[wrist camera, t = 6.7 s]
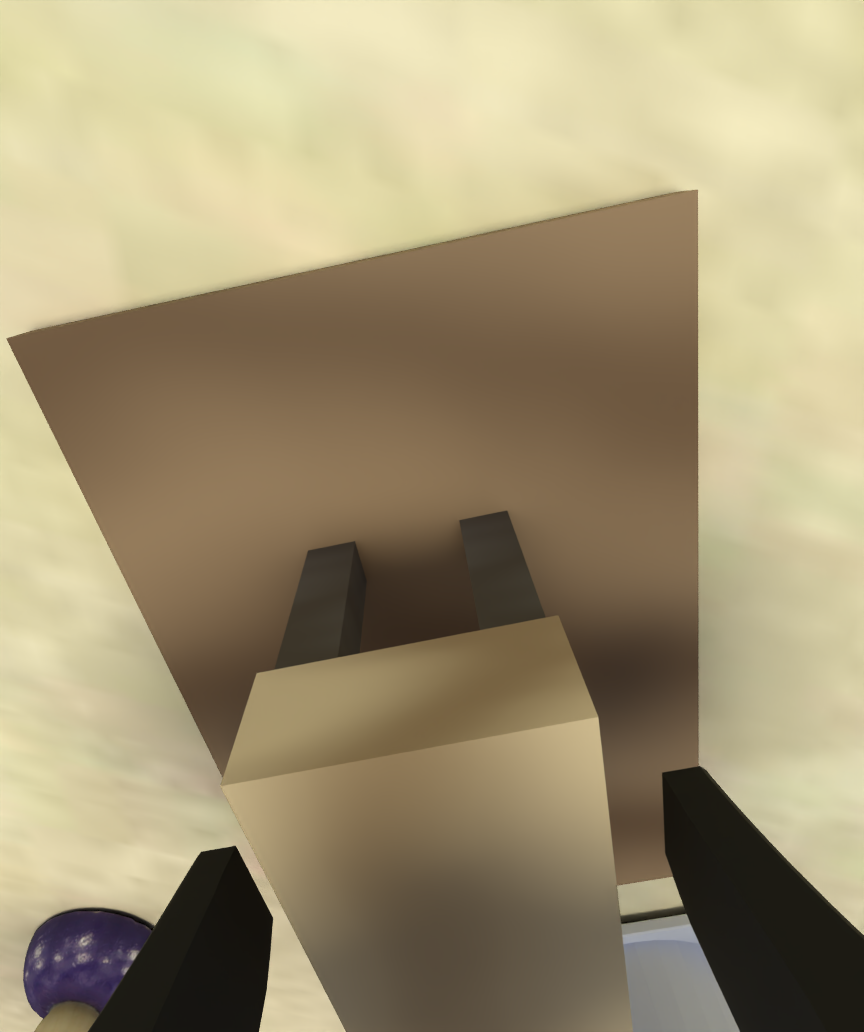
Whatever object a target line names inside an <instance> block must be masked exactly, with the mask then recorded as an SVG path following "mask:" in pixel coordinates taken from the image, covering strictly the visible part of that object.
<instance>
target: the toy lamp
mask: <svg viewBox="0 0 864 1032" xmlns="http://www.w3.org/2000/svg"><path fill="white" fill-rule="evenodd" d="M151 932H152V930H151V929H149V928H148V927H147V926H145V925H144V924H140V923H138V922H135V921H134V920H133V919H131V918H128V917H125V916H121V915H118V914H113V913H108V912H103V911H75V912H71V913H66V914H63V915H60V916H57V917H54V918H52V919H50V920H48V921H47V922H46V923H44V924H43V925H42V926H41V927H40V928H39V929H37V930H36V932H35V933H34V936H33V938H32V940H31V942H30V944H29V947H28V951H27V954H26V958H25V964H24V978H23V981H24V988H25V992H26V996H27V999H28V1002H29V1003H30V1005H31V1008H32V1009H33V1010H34V1011H35V1012H37V1014H38V1015H39V1016H40V1017H42V1018H43V1020H42V1021H41V1022H40V1024H39V1025H38V1027H37V1028H36V1030H35V1032H88V1030H89V1029H90V1027H91V1026H92V1024H93V1023H94V1021H95V1020H96V1018H97V1017H98V1015H99V1014H100V1012H101V1011H102V1009H103V1008H104V1006H105V1005H106V1003H107V1002H108V1000H109V998H110V997H111V995H112V994H113V992H114V991H115V989H116V987H117V986H118V984H119V983H120V981H121V980H122V978H123V977H124V975H125V973H126V972H127V970H128V969H129V967H130V966H131V964H132V962H133V961H134V959H135V958H136V956H137V955H138V953H139V951H140V950H141V948H142V947H143V945H144V943H145V942H146V940H147V938H148V937H149V935H150V934H151Z"/></svg>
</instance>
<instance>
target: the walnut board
mask: <svg viewBox="0 0 864 1032" xmlns="http://www.w3.org/2000/svg"><path fill="white" fill-rule="evenodd" d="M6 339H7V341H8V343H9V345H10V347H11V349H12V351H13V353H14V355H15V357H16V359H17V361H18V363H19V365H20V367H21V369H22V371H23V373H24V375H25V377H26V379H27V381H28V383H29V385H30V387H31V389H32V392H33V394H34V396H35V398H36V400H37V402H38V404H39V406H40V408H41V410H42V412H43V414H44V416H45V418H46V420H47V422H48V424H49V426H50V428H51V430H52V432H53V434H54V436H55V438H56V440H57V442H58V444H59V446H60V448H61V450H62V452H63V454H64V456H65V458H66V461H67V463H68V465H69V467H70V469H71V471H72V473H73V475H74V477H75V479H76V481H77V483H78V485H79V487H80V489H81V491H82V493H83V495H84V497H85V499H86V501H87V503H88V505H89V507H90V509H91V511H92V513H93V515H94V517H95V519H96V521H97V523H98V525H99V527H100V530H101V532H102V534H103V536H104V538H105V540H106V542H107V544H108V546H109V548H110V550H111V552H112V554H113V556H114V558H115V560H116V562H117V564H118V566H119V568H120V570H121V572H122V574H123V576H124V578H125V580H126V582H127V584H128V586H129V588H130V590H131V592H132V594H133V596H134V599H135V601H136V603H137V605H138V607H139V609H140V611H141V613H142V615H143V617H144V619H145V621H146V623H147V625H148V627H149V629H150V631H151V633H152V635H153V637H154V639H155V641H156V643H157V645H158V647H159V649H160V651H161V653H162V655H163V657H164V659H165V661H166V663H167V665H168V667H169V670H170V672H171V674H172V676H173V678H174V680H175V682H176V684H177V686H178V688H179V690H180V692H181V694H182V696H183V698H184V700H185V702H186V704H187V706H188V708H189V710H190V712H191V714H192V716H193V718H194V720H195V722H196V724H197V726H198V728H199V730H200V732H201V734H202V736H203V739H204V741H205V743H206V745H207V747H208V749H209V751H210V753H211V755H212V757H213V759H214V761H215V763H216V765H217V767H218V769H219V771H220V773H221V775H222V777H223V776H224V773H225V770H226V767H227V764H228V761H229V758H230V755H231V751H232V748H233V745H234V742H235V739H236V736H237V733H238V730H239V727H240V723H241V720H242V717H243V714H244V711H245V708H246V705H247V702H248V699H249V695H250V692H251V689H252V686H253V683H254V680H255V677H256V674H257V673H260V672H266V671H271V670H274V668H275V665H276V661H277V658H278V654H279V651H280V647H281V644H282V640H283V637H284V633H285V630H286V626H287V623H288V619H289V616H290V612H291V609H292V605H293V602H294V598H295V595H296V591H297V588H298V584H299V581H300V577H301V574H302V570H303V566H304V563H305V559H306V556H307V552H308V550H313V549H318V548H323V547H328V546H333V545H338V544H343V543H348V542H353V541H355V543H356V547H357V550H358V553H359V557H360V560H361V563H362V567H363V570H364V574H365V577H366V580H367V584H366V594H365V604H364V615H363V625H362V635H361V645H360V653H364V652H369V651H375V650H380V649H385V648H390V647H395V646H401V645H406V644H411V643H416V642H421V641H427V640H432V639H437V638H442V637H447V636H453V635H458V634H463V633H468V632H473V631H479V630H480V628H479V622H478V617H477V612H476V606H475V601H474V596H473V591H472V585H471V580H470V575H469V569H468V564H467V559H466V553H465V548H464V543H463V537H462V532H461V527H460V522H459V520H462V519H467V518H472V517H477V516H482V515H487V514H492V513H497V512H502V511H508V514H509V517H510V519H511V522H512V525H513V528H514V531H515V533H516V536H517V539H518V542H519V544H520V547H521V550H522V553H523V556H524V558H525V561H526V564H527V567H528V569H529V572H530V575H531V578H532V581H533V583H534V586H535V589H536V592H537V595H538V597H539V600H540V603H541V606H542V608H543V611H544V614H545V617H551V616H557V615H558V616H559V618H560V621H561V623H562V626H563V628H564V631H565V633H566V636H567V639H568V641H569V644H570V646H571V649H572V651H573V654H574V656H575V659H576V661H577V664H578V667H579V669H580V672H581V674H582V677H583V679H584V682H585V684H586V687H587V689H588V692H589V695H590V697H591V700H592V702H593V705H594V707H595V710H596V712H597V715H598V718H599V728H600V737H601V746H602V755H603V764H604V773H605V782H606V791H607V800H608V809H609V819H610V828H611V837H612V846H613V855H614V864H615V873H616V882H617V885H623V884H630V883H636V882H642V881H648V880H654V879H660V878H666V877H672V876H673V874H672V871H671V869H670V866H669V863H668V860H667V857H666V854H665V839H664V813H663V787H662V772H668V771H674V770H680V769H686V768H691V767H697V766H698V190H691V191H681V192H675V193H670V194H665V195H661V196H656V197H651V198H647V199H642V200H638V201H633V202H628V203H624V204H619V205H614V206H610V207H605V208H600V209H596V210H591V211H586V212H582V213H577V214H572V215H568V216H563V217H559V218H554V219H549V220H545V221H540V222H535V223H531V224H526V225H521V226H517V227H512V228H507V229H503V230H498V231H493V232H489V233H484V234H480V235H475V236H470V237H466V238H461V239H456V240H452V241H447V242H442V243H438V244H433V245H428V246H424V247H419V248H414V249H410V250H405V251H401V252H396V253H391V254H387V255H382V256H377V257H373V258H368V259H363V260H359V261H354V262H349V263H345V264H340V265H335V266H331V267H326V268H322V269H317V270H312V271H308V272H303V273H298V274H294V275H289V276H284V277H280V278H275V279H270V280H266V281H261V282H256V283H252V284H247V285H243V286H238V287H233V288H229V289H224V290H219V291H215V292H210V293H205V294H201V295H196V296H191V297H187V298H182V299H178V300H173V301H168V302H164V303H159V304H154V305H150V306H145V307H140V308H136V309H131V310H126V311H122V312H117V313H112V314H108V315H103V316H99V317H94V318H89V319H85V320H80V321H75V322H71V323H66V324H61V325H57V326H52V327H47V328H43V329H38V330H33V331H30V332H26V333H23V334H20V335H16V336H13V337H10V338H6Z"/></svg>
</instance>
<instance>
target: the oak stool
mask: <svg viewBox="0 0 864 1032" xmlns="http://www.w3.org/2000/svg"><path fill="white" fill-rule="evenodd" d="M459 522H460V527H461V532H462V537H463V543H464V548H465V553H466V559H467V564H468V569H469V575H470V580H471V585H472V591H473V596H474V601H475V606H476V612H477V617H478V622H479V628H480V630H479V631H473V632H468V633H463V634H458V635H453V636H447V637H442V638H437V639H432V640H427V641H421V642H416V643H411V644H406V645H401V646H395V647H390V648H385V649H380V650H375V651H369V652H364V653H360V645H361V635H362V625H363V615H364V604H365V594H366V584H367V580H366V577H365V574H364V570H363V567H362V563H361V560H360V557H359V553H358V550H357V547H356V543H355V541H353V542H348V543H343V544H338V545H333V546H328V547H323V548H318V549H313V550H308V552H307V556H306V559H305V563H304V566H303V570H302V574H301V577H300V581H299V584H298V588H297V591H296V595H295V598H294V602H293V605H292V609H291V612H290V616H289V619H288V623H287V626H286V630H285V633H284V637H283V640H282V644H281V647H280V651H279V654H278V658H277V661H276V665H275V668H274V670H271V671H266V672H260V673H257V674H256V677H255V680H254V683H253V686H252V689H251V692H250V695H249V699H248V702H247V705H246V708H245V711H244V714H243V717H242V720H241V723H240V727H239V730H238V733H237V736H236V739H235V742H234V745H233V748H232V751H231V755H230V758H229V761H228V764H227V767H226V770H225V773H224V776H223V779H222V783H221V786H220V787H221V789H222V791H223V793H224V795H225V797H226V798H227V800H228V802H229V804H230V806H231V808H232V810H233V812H234V814H235V816H236V818H237V820H238V822H239V824H240V826H241V828H242V830H243V832H244V834H245V836H246V837H247V839H248V841H249V843H250V845H251V847H252V849H253V851H254V853H255V855H256V857H257V859H258V861H259V863H260V865H261V867H262V869H263V871H264V873H265V875H266V876H267V878H268V880H269V882H270V884H271V886H272V888H273V890H274V892H275V894H276V896H277V898H278V900H279V902H280V904H281V906H282V908H283V910H284V912H285V914H286V915H287V917H288V919H289V921H290V923H291V925H292V927H293V929H294V931H295V933H296V935H297V937H298V939H299V941H300V943H301V945H302V947H303V949H304V951H305V953H306V954H307V956H308V958H309V960H310V962H311V964H312V966H313V968H314V970H315V972H316V974H317V976H318V978H319V980H320V982H321V984H322V986H323V988H324V990H325V992H326V993H327V995H328V997H329V999H330V1001H331V1003H332V1005H333V1007H334V1009H335V1011H336V1013H337V1015H338V1017H339V1019H340V1021H341V1023H342V1025H343V1027H344V1029H345V1031H346V1032H633V1028H632V1019H631V1009H630V1000H629V991H628V982H627V973H626V964H625V955H624V946H623V937H622V928H621V919H620V909H619V900H618V891H617V882H616V873H615V864H614V855H613V846H612V837H611V828H610V819H609V809H608V800H607V791H606V782H605V773H604V764H603V755H602V746H601V737H600V728H599V718H598V715H597V712H596V710H595V707H594V705H593V702H592V700H591V697H590V695H589V692H588V689H587V687H586V684H585V682H584V679H583V677H582V674H581V672H580V669H579V667H578V664H577V661H576V659H575V656H574V654H573V651H572V649H571V646H570V644H569V641H568V639H567V636H566V633H565V631H564V628H563V626H562V623H561V621H560V618H559V616H558V615H557V616H551V617H545V614H544V611H543V608H542V606H541V603H540V600H539V597H538V595H537V592H536V589H535V586H534V583H533V581H532V578H531V575H530V572H529V569H528V567H527V564H526V561H525V558H524V556H523V553H522V550H521V547H520V544H519V542H518V539H517V536H516V533H515V531H514V528H513V525H512V522H511V519H510V517H509V514H508V511H502V512H497V513H492V514H487V515H482V516H477V517H472V518H467V519H462V520H459Z"/></svg>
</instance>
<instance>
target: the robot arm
mask: <svg viewBox="0 0 864 1032" xmlns="http://www.w3.org/2000/svg"><path fill="white" fill-rule="evenodd" d="M662 787H663V813H664V839H665V854H666V857H667V860H668V863H669V866H670V869H671V871H672V874H673V877H674V880H675V883H676V886H677V889H678V891H679V894H680V897H681V900H682V903H683V905H684V908H685V911H686V914H682V915H676V916H670V917H663V918H657V919H651V920H645V921H639V922H632V923H626V924H621V928H622V937H623V946H624V955H625V964H626V973H627V982H628V991H629V1000H630V1009H631V1019H632V1028H633V1032H864V935H863V934H862V933H861V932H860V931H858V930H857V929H856V928H855V927H854V926H853V925H852V924H851V923H850V922H849V921H848V920H847V919H846V918H845V917H844V916H843V915H842V914H841V913H840V912H839V911H838V910H837V909H835V908H834V907H833V906H832V905H831V904H830V903H829V902H828V901H827V900H826V899H825V898H824V897H823V896H822V895H821V894H820V893H819V892H818V891H817V890H816V889H815V888H814V887H813V886H812V885H811V884H810V883H809V882H808V881H807V880H806V879H805V878H804V877H803V876H802V875H801V874H800V873H799V872H798V871H797V870H796V869H795V868H794V867H793V866H792V865H791V864H790V863H789V862H788V861H787V859H786V858H785V857H784V856H783V855H782V854H781V853H780V852H779V851H778V850H777V849H776V848H775V847H774V846H773V845H772V844H771V843H770V842H769V841H768V840H767V838H766V837H765V836H764V835H763V834H762V833H761V832H760V831H759V830H758V829H757V828H756V827H755V826H754V824H753V823H752V822H751V821H750V820H749V819H748V818H747V817H746V816H745V815H744V813H743V812H742V811H741V810H740V809H739V808H738V807H737V806H736V805H735V803H734V802H733V801H732V800H731V799H730V798H729V797H728V795H727V794H726V793H725V792H724V791H723V790H722V789H721V787H720V786H719V785H718V784H717V783H716V782H715V780H714V779H713V778H712V777H711V776H710V774H709V773H708V772H707V771H706V770H705V769H703V768H702V767H700V766H697V767H691V768H686V769H680V770H674V771H668V772H662ZM272 925H273V917H272V915H271V913H270V911H269V909H268V907H267V905H266V904H265V902H264V900H263V898H262V896H261V894H260V892H259V890H258V888H257V886H256V884H255V882H254V880H253V878H252V876H251V874H250V872H249V871H248V869H247V867H246V865H245V863H244V861H243V859H242V857H241V855H240V853H239V851H238V849H237V847H236V846H232V847H227V848H221V849H215V850H209V851H203V852H201V853H200V854H199V856H198V857H197V858H196V860H195V862H194V863H193V865H192V866H191V868H190V870H189V871H188V873H187V875H186V876H185V878H184V880H183V881H182V883H181V884H180V886H179V888H178V889H177V891H176V893H175V894H174V896H173V898H172V899H171V901H170V903H169V904H168V906H167V908H166V909H165V911H164V912H163V914H162V916H161V917H160V919H159V921H158V922H157V924H156V925H155V927H154V929H153V930H152V932H151V934H150V935H149V937H148V938H147V940H146V942H145V943H144V945H143V947H142V948H141V950H140V951H139V953H138V955H137V956H136V958H135V959H134V961H133V962H132V964H131V966H130V967H129V969H128V970H127V972H126V973H125V975H124V977H123V978H122V980H121V981H120V983H119V984H118V986H117V987H116V989H115V991H114V992H113V994H112V995H111V997H110V998H109V1000H108V1002H107V1003H106V1005H105V1006H104V1008H103V1009H102V1011H101V1012H100V1014H99V1015H98V1017H97V1018H96V1020H95V1021H94V1023H93V1024H92V1026H91V1027H90V1029H89V1030H88V1032H259V1028H260V1022H261V1017H262V1012H263V1007H264V1001H265V996H266V990H267V980H268V971H269V961H270V950H271V937H272Z"/></svg>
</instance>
